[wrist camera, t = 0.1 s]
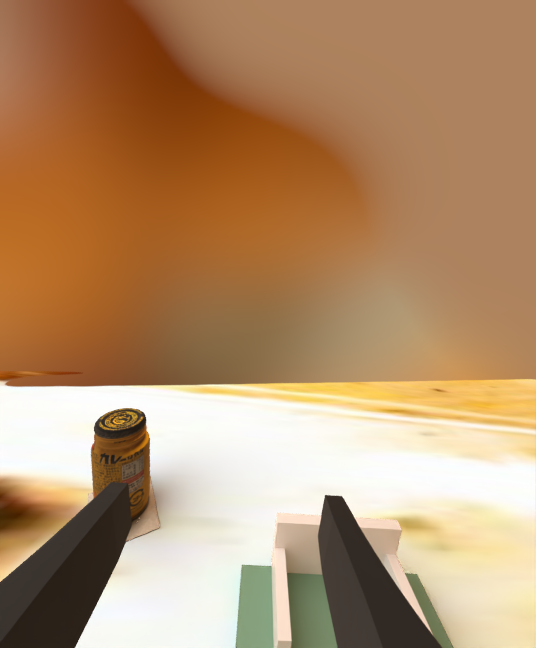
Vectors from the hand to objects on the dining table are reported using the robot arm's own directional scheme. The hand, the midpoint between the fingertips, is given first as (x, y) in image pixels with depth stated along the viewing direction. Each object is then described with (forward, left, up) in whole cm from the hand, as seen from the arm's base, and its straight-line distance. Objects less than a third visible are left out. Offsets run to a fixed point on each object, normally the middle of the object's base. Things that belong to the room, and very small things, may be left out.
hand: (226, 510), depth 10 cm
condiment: (+19, +14, -22) cm, 32 cm away
